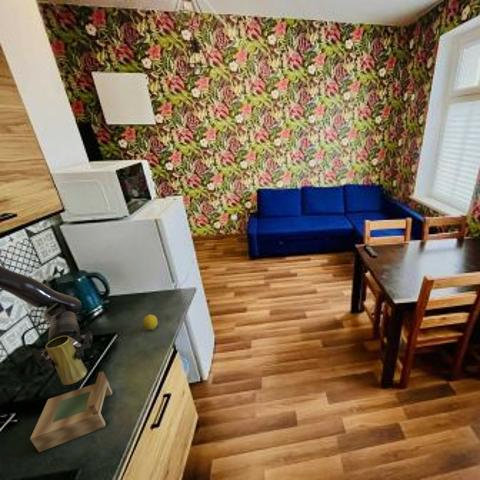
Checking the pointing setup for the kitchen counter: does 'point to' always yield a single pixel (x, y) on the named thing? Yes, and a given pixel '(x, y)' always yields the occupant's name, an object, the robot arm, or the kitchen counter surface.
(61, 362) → the vase
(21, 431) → the kitchen counter surface
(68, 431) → the wooden tray
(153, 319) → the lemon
